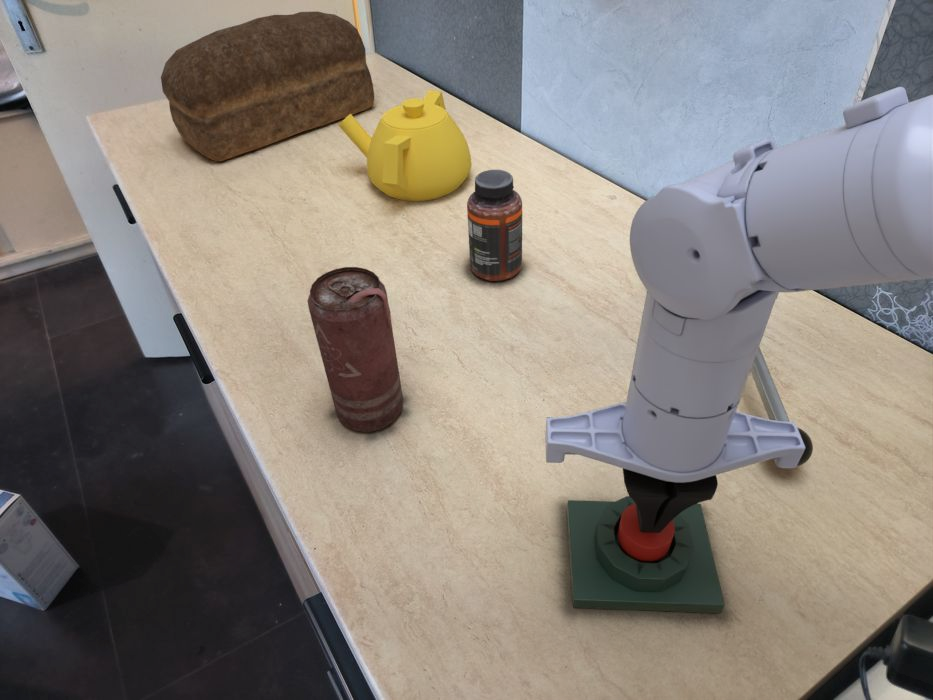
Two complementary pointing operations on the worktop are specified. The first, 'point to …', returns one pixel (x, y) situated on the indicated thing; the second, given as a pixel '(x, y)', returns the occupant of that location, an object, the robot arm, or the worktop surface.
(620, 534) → the button
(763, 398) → the grey lever handle
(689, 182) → the robot arm
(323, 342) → the can
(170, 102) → the bread
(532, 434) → the worktop surface
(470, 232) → the supplement bottle
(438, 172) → the teapot
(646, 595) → the button box
